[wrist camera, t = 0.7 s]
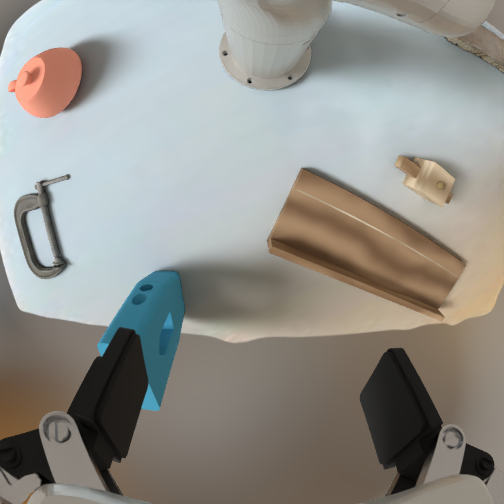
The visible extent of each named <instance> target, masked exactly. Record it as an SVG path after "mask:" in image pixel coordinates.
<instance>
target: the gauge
mask: <svg viewBox="0 0 504 504" xmlns="http://www.w3.org/2000/svg"><path fill="white" fill-rule="evenodd" d="M394 166H396V167H397V168H399V169H400V170H402V171H403V172H405V173H406V174H407V175H406V177H405V179H404V181H403V185H405V186H406V187H408V188H409V189H411V190H412V191H414V192H415V193H416V194H418V195H419V196H421V197H422V198H424V199H426V200H428V201H430V202H432V203H434V204H437V205H439V206H441V207H443V206H444V204H445V202H446V203H448V204H449V202H450V200H451V197H452V195H453V194H452V193H450V190H451V188H452V186H453V184H454V181H455V179H454V178H453V177H452V176H451V175H450V174H449V173H448V172H446V171H445V170H444V169H443V168H442V167H441V166H439V165H438V164H437V163H436V162H433V161H428V160H424V159H420V158H415V157H414V159H413V162H411V161H410V160H409V159H407V158H406V157H404V156H398V159H397V161H396V163H395V165H394Z"/></svg>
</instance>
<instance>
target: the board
mask: <svg viewBox="0 0 504 504" xmlns="http://www.w3.org/2000/svg"><path fill="white" fill-rule="evenodd" d="M267 243H268V249H269V253H271V254H274V255H276V256H279V257H282V258H284V259H287V260H289V261H292V262H294V263H297V264H299V265H302V266H304V267H307V268H309V269H312V270H315V271H317V272H320V273H322V274H325V275H327V276H330V277H332V278H335V279H337V280H340V281H342V282H345V283H347V284H350V285H352V286H355V287H357V288H360V289H362V290H365V291H367V292H370V293H372V294H375V295H377V296H380V297H382V298H385V299H387V300H390V301H392V302H395V303H397V304H400V305H402V306H405V307H407V308H410V309H412V310H415V311H417V312H420V313H422V314H425V315H427V316H430V317H432V318H435V319H437V320H440V321H443V319H444V318H445V317H444V316H443V315H442V314H441V312H440V311H439V310H438V309H439V307H440V306H441V304H442V303H443V301H444V300H445V298H446V297H447V295H448V294H449V292H450V291H451V289H452V287H453V286H454V284H455V283H456V281H457V279H458V278H459V276H460V274H461V273H462V271H463V269H464V268H465V266H466V265H465V264H464V263H462V262H461V261H460V260H458V259H457V258H456V257H454V256H453V255H451V254H450V253H449V252H447V251H446V250H444V249H443V248H441V247H440V246H438V245H437V244H435V243H434V242H432V241H431V240H429V239H428V238H426V237H425V236H423V235H422V234H420V233H419V232H417V231H416V230H414V229H412V228H411V227H409V226H408V225H406V224H404V223H403V222H401V221H400V220H398V219H396V218H395V217H393V216H391V215H390V214H388V213H386V212H384V211H383V210H381V209H379V208H378V207H376V206H374V205H372V204H371V203H369V202H367V201H365V200H363V199H362V198H360V197H358V196H356V195H354V194H352V193H350V192H349V191H347V190H345V189H343V188H341V187H339V186H337V185H335V184H333V183H331V182H329V181H327V180H325V179H323V178H321V177H319V176H317V175H315V174H313V173H311V172H309V171H307V170H305V169H303V168H301V170H300V172H299V174H298V176H297V178H296V181H295V183H294V185H293V187H292V189H291V191H290V193H289V196H288V198H287V200H286V202H285V204H284V206H283V208H282V210H281V212H280V215H279V217H278V219H277V221H276V223H275V225H274V227H273V229H272V231H271V234H270V236H269V238H268V240H267Z"/></svg>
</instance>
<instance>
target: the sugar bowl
mask: <svg viewBox="0 0 504 504" xmlns="http://www.w3.org/2000/svg"><path fill="white" fill-rule="evenodd" d="M81 75H82V64H81V60H80V58H79V56H78V54H77V53H76V52H75V51H74V50H71V49H68V48H53V49H49V50H46V51H44V52H42V53H40V54H38V55H36V56H35V57H33V58H32V59H30V60H29V61H28V62H27V63H26V64H25V65H24V66H23V68H22V69H21V71H20V73H19V75H18V77H17V80H14V81H11V82H10V83H9V86H8V91H9V92H15V94H16V98H17V100H18V102H19V103H20V105H21V106H22V107H23V108H24V110H25V111H27V112H28V113H29V114H31V115H33V116H36V117H40V118H49V117H52V116H55V115H56V114H58V113H60V112H61V111H62V110H64V109H65V108H66V107H67V106H68V104H69V103H70V102H71V100H72V99H73V97H74V96H75V94H76V92H77V89H78V87H79V84H80V80H81Z"/></svg>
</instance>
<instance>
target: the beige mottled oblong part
mask: <svg viewBox="0 0 504 504" xmlns="http://www.w3.org/2000/svg"><path fill="white" fill-rule="evenodd" d="M447 39H448V41H450V42H453V44H457V45H458V46H459V47H460V48H462V49H463V50H467V51H471V53H473V54H475V53H477V54H476V56H481V58H482V59H483V60H485V61H487V62H488V63H491V65H493V66H497V67H496V68H498V67H499V68H498V70H499V69H500V71H502V72H503V73H504V40H503V39H501V38H500V37H498V36H497V35H496V34H494V33H493V32H491V31H489V30H488V29H486V28H485V27H484V26H482V25H481V26H480V27H478V28H477V29H476V30H475V31H473V32H471V33H469V34H467V35H464V36H461V37H452V38H450V37H447Z"/></svg>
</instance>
